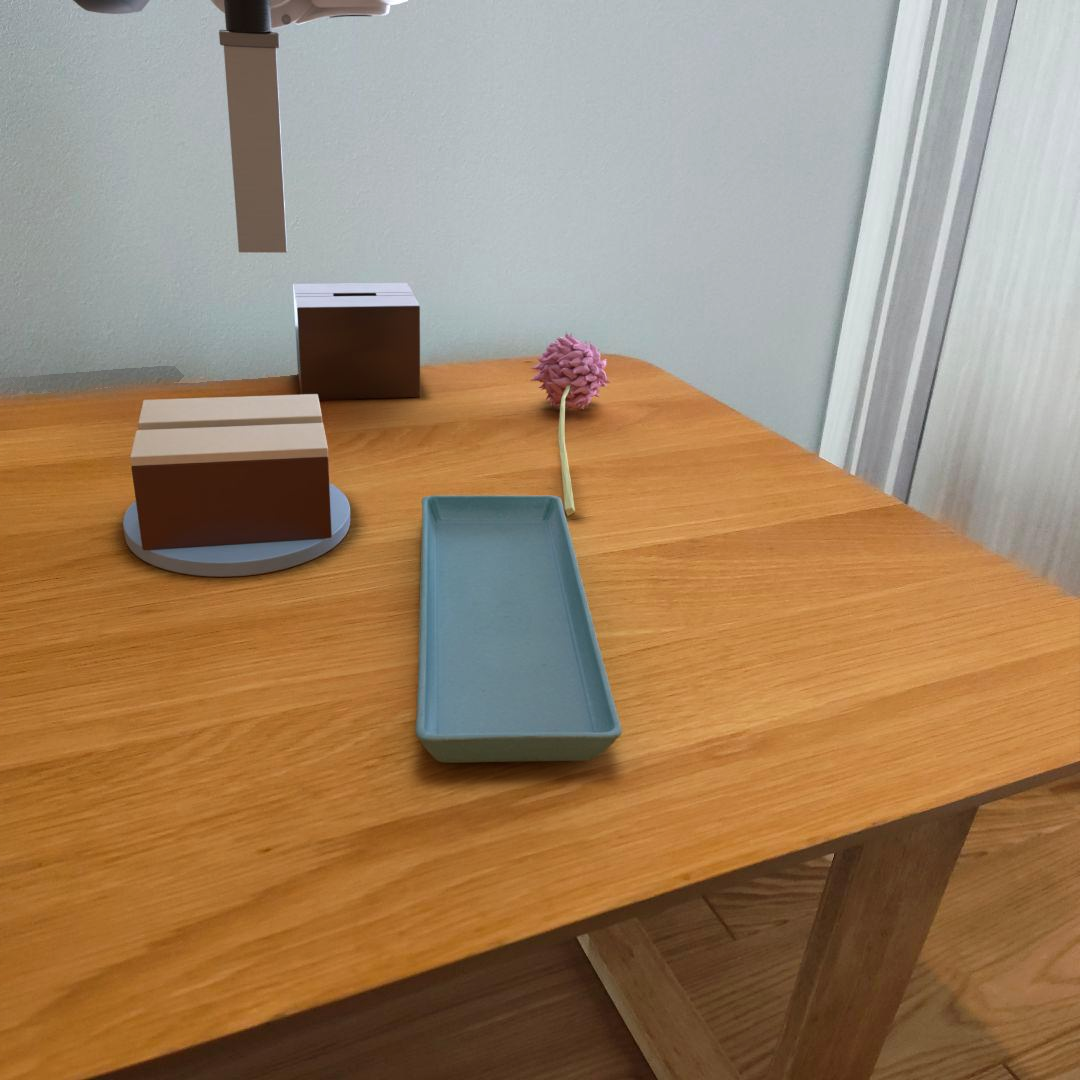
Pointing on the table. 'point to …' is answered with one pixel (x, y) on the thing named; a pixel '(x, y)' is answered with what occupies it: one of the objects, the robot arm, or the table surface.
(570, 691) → the teal serving tray
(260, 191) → the knife
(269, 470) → the cake
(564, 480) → the artificial flower
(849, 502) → the table surface
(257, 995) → the table surface
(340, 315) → the knife block
